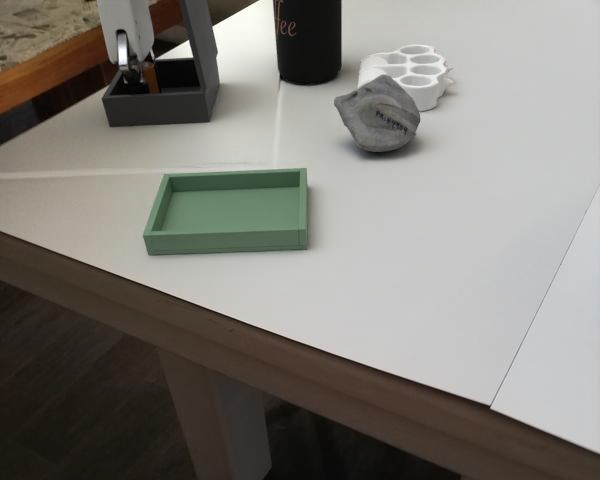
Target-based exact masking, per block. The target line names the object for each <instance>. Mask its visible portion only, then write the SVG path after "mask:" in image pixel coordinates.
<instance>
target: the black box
mask: <svg viewBox="0 0 600 480" xmlns="http://www.w3.org/2000/svg"><path fill="white" fill-rule="evenodd" d="M155 65H156V66H157V70H158V75H159V80H160V84H161V89H162V92H161V93H154V94H134V95H128V92H127V88H126V85H125V82H124V76H123V75H122V74H123V73H122V72H121V71H120V68H119V67H118V70H117V71H116V73H115V75H114V77H113V79H112V80H111V81H110V84H109V85H108V87H107V88H106V90H105V92H104V93H103V95H102V97H101V102H102V105H103V109H104V112H105V115H106V119H107V123H108V126H109V128H122V127H123V128H125V127H142V126H143V127H144V126H145V127H146V126H163V125H165V126H167V125H186V124H187V125H189V124H205V123H207V124H208V123H210V121H211V118H212V114H213V111H214V107H215V104H216V100H217V96H218V94H219V93H218V92H219V90H220V85H221V80H220V73H219V66H218V61H217V58H216V61H215V64H214V67H213V70H212V73H211V77H210V80H209V83H208V86H207V89H205V90H201V87H200V83H199V79H198V75H197V71H196V67H195V63H194V59H193V56H192V57H176V58H174V57H173V58H158V59H157V58H155Z"/></svg>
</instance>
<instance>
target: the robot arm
mask: <svg viewBox="0 0 600 480" xmlns="http://www.w3.org/2000/svg"><path fill="white" fill-rule="evenodd" d="M96 5H97V10H98V15H99V20H100V24H101V28H102V29H101V30H102V33H103V38H104V43H105V47H106V51H107V55H108V59H109V61H110V62H111V63H112V64H113V65H116V64H117V63H118V69H119V68H120V71H121V72H122V73H123V74H122V75H123V76H124V82H125V85H126V88H127V92H128V95H134V94H150V89H149V85H148V82H147V83H145V76H144V69H143V62H142V61H147V62H151V63H153V64H154V68H155V73H156V78H157V82H158V87H159V91H160V93H161V92H162V89H161V84H160V80H159V75H158V70H157V66H156V65H155V59H156V57H155V54H154V51H153V45H154V42H155V34H154V28H153V22H152V17H151V12H150V7H149V3H148V0H96ZM131 56H133V59H131ZM132 65H137V67H138V72H137V71H136V69H135V68H134V69H132Z"/></svg>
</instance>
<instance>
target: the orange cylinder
mask: <svg viewBox="0 0 600 480" xmlns="http://www.w3.org/2000/svg"><path fill="white" fill-rule="evenodd" d="M142 62H143V69H144V76H145V83H147V82H148V85H149V89H150V94H154V93H160V91H159V87H158V82H157V78H156V73H155V68H154V64H153V63H151V62H147V61H142ZM134 68H135V69H136V71H137V72H138V67H137V65H132V69H134Z"/></svg>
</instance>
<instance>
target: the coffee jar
mask: <svg viewBox="0 0 600 480" xmlns="http://www.w3.org/2000/svg"><path fill="white" fill-rule="evenodd" d="M342 1H343V0H272V6H273V7H272V9H273V19H274V20H273V22H274V35H275V36H274V37H275V48H276V50H275V51H276V63H277V70H278V72H279V74H280V75H281V77H282V78H283V79H284V80H285V81H286V82H289V83H291V84H296V85H303V86H304V85H306V86H307V85H318V84H323V83H326V82H329V81H332V80H333V79H335V78H336V77H337V76H338V74H339V73H340V70H341V69H342V66H343V64H342V63H343V59H342V58H343V55H342V54H343V51H342V50H343V49H342V47H343V43H342V41H343V39H342V38H343V37H342V36H343V25H342V24H343V22H342V21H343V20H342V18H343V4H342V3H343V2H342Z"/></svg>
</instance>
